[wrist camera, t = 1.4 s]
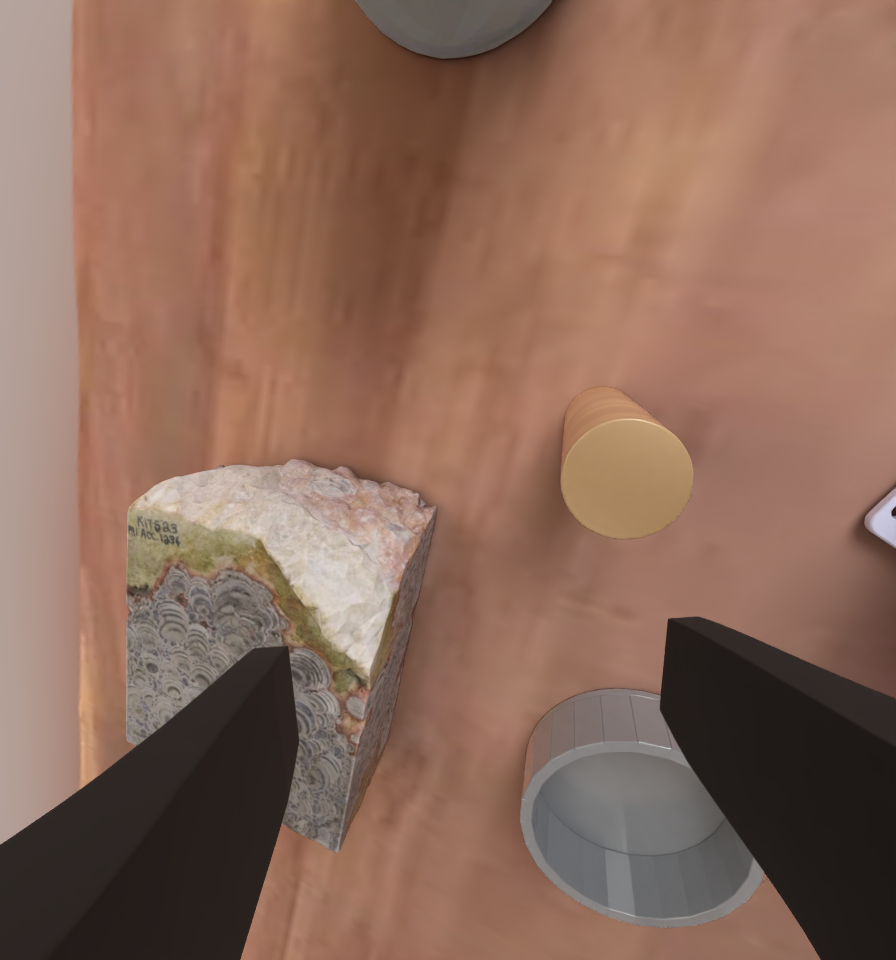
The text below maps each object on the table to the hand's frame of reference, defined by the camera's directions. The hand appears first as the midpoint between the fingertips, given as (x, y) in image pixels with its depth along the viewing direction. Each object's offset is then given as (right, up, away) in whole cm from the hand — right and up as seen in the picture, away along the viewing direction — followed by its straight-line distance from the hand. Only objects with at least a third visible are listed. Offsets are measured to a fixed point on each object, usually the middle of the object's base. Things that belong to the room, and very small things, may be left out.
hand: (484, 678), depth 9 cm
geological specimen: (-8, -2, +14) cm, 16 cm away
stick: (+5, +6, +9) cm, 12 cm away
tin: (+7, -9, +12) cm, 17 cm away
